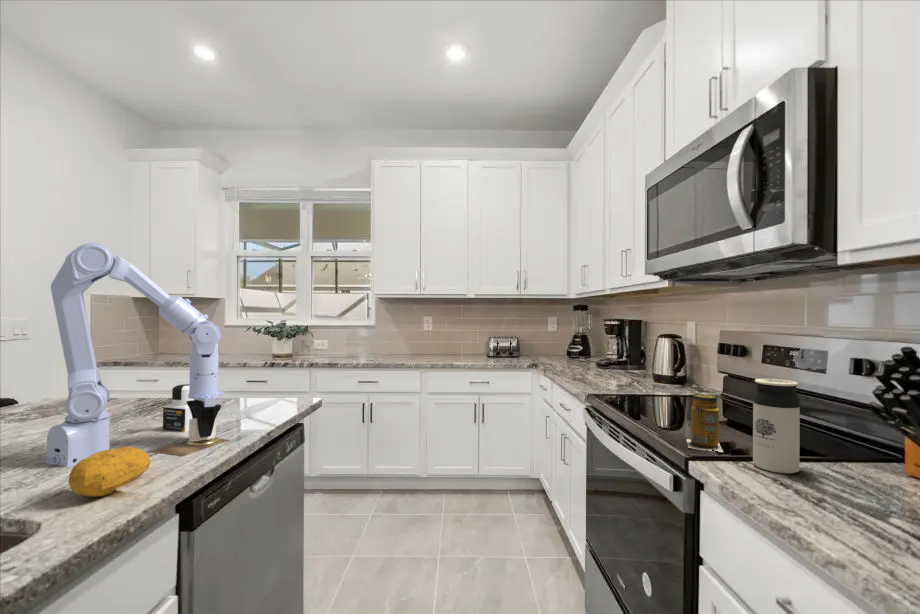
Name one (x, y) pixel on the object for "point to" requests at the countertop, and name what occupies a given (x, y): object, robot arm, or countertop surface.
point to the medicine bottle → (178, 410)
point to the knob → (202, 442)
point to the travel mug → (776, 426)
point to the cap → (195, 433)
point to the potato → (107, 471)
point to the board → (184, 448)
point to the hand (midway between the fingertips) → (202, 433)
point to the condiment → (704, 423)
